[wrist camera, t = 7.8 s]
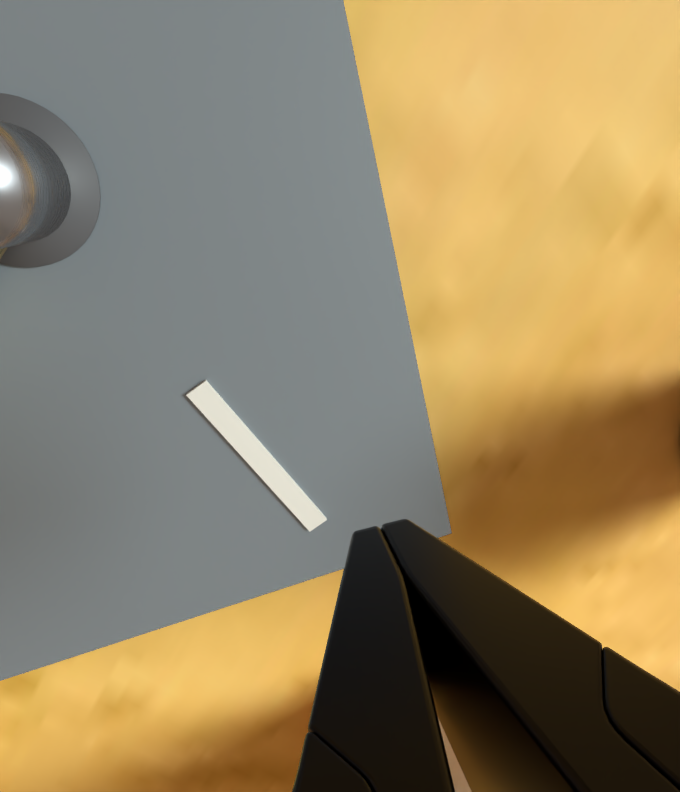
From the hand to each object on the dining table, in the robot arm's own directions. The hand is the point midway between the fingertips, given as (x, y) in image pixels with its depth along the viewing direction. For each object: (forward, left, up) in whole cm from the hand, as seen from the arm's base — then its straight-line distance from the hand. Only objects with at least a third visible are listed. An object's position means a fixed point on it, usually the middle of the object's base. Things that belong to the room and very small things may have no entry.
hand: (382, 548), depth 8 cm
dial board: (-1, -9, -12) cm, 15 cm away
